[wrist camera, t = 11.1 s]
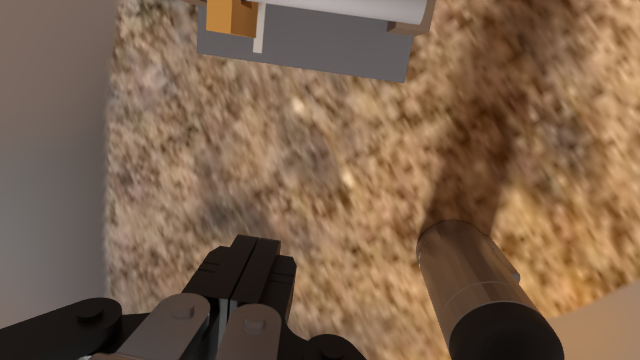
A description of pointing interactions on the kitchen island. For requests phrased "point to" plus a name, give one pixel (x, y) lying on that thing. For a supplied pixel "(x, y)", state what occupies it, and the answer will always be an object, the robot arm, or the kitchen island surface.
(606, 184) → the kitchen island surface
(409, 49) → the pipe stand
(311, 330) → the kitchen island surface
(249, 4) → the orange square ring
